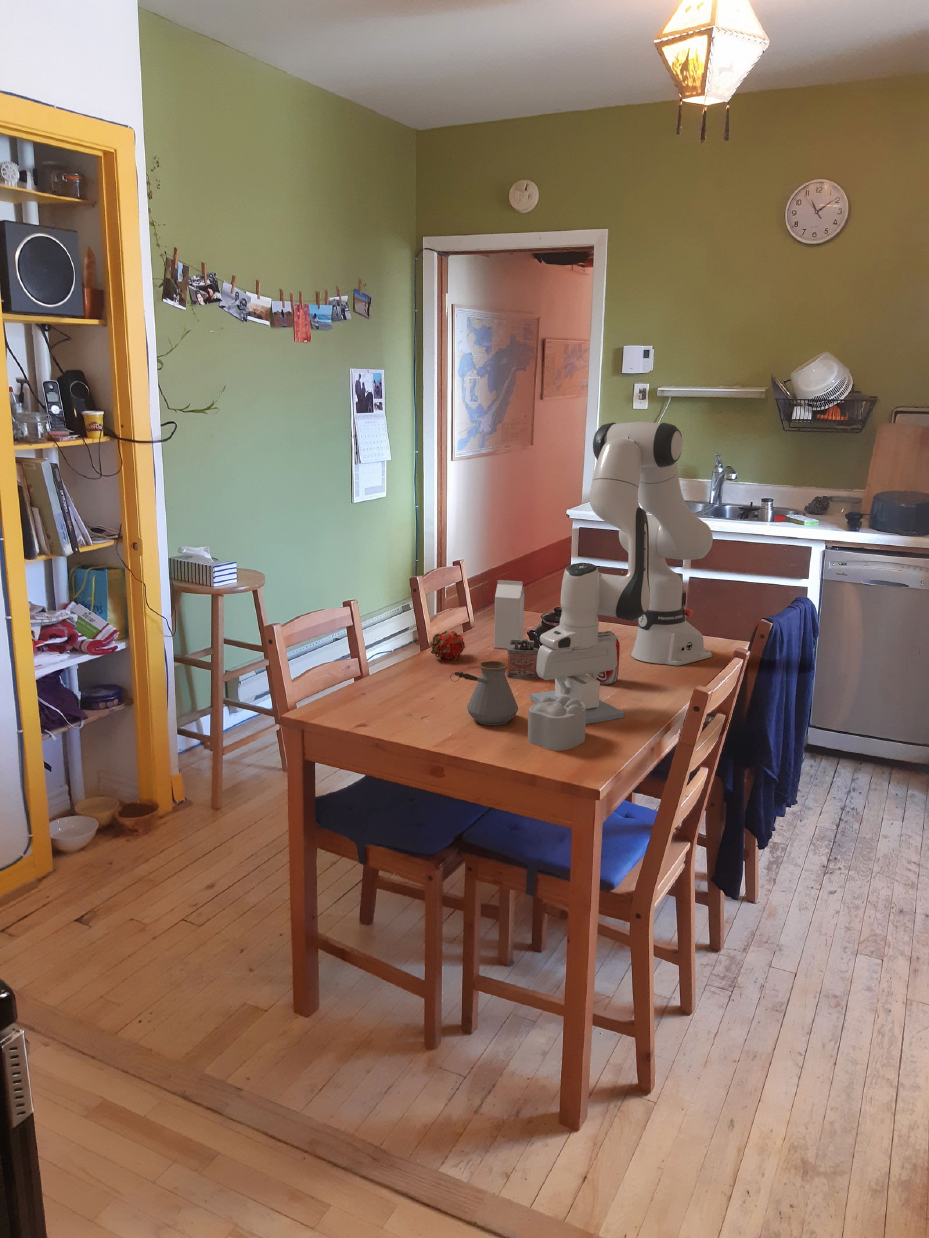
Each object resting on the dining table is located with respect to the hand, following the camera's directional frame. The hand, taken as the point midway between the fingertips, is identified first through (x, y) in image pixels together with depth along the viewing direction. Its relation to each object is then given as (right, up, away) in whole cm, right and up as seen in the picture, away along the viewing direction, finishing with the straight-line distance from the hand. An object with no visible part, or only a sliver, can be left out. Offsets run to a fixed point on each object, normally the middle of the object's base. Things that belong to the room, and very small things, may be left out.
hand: (576, 692), depth 222 cm
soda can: (+9, +1, +21) cm, 23 cm away
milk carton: (-13, +9, +52) cm, 54 cm away
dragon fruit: (-30, +6, +39) cm, 50 cm away
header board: (0, -4, +1) cm, 4 cm away
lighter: (-11, +2, +24) cm, 26 cm away
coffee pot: (-22, -7, -11) cm, 26 cm away
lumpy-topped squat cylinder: (-6, -9, -18) cm, 21 cm away
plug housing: (0, -2, 0) cm, 2 cm away
